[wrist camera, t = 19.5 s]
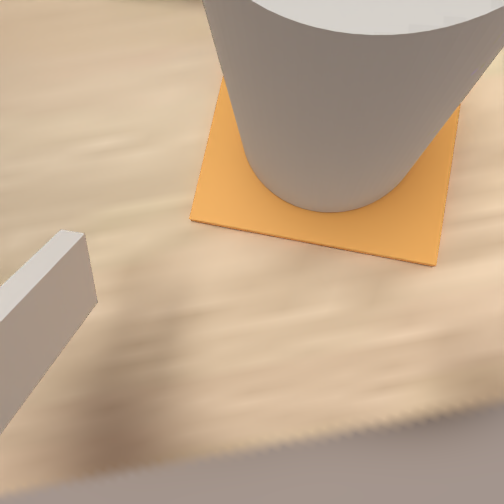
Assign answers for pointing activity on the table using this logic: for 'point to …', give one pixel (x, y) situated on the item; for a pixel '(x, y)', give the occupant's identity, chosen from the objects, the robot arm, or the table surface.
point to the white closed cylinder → (347, 87)
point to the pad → (326, 223)
